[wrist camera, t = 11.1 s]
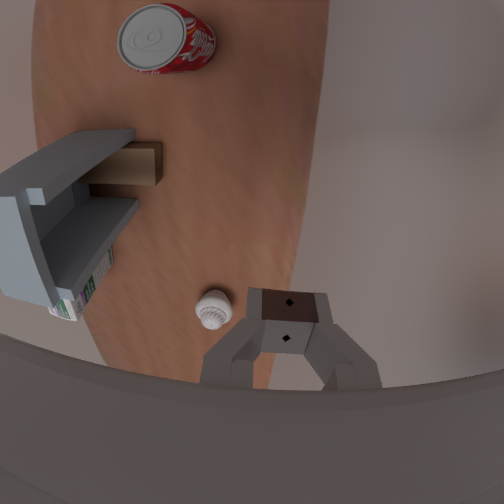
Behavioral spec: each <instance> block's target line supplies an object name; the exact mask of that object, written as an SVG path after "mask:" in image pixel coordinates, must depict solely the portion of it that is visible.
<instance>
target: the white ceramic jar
mask: <svg viewBox="0 0 504 504" xmlns="http://www.w3.org/2000/svg"><path fill="white" fill-rule="evenodd" d="M195 310H196V314H197V316H198V317H199V318H200V319H201V322H202V324H203V326H205V327H206V328H208V329H212V330H213V329H217V328H220V326H222V324H224V323H226V322H228V321H229V320H230V319H231V317H232V315H233V310H232V307H231V304H230V302H229V300H228V298H227V297H226V295H225V294H224V293H223V292H222V291H219V290H211V291H209V292H208V293H206V294H205V295H204V296H203V297H201V299H200V300H199V301H198V303H197V304H196V307H195Z"/></svg>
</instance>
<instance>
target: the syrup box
mask: <svg viewBox="0 0 504 504" xmlns="http://www.w3.org/2000/svg"><path fill="white" fill-rule="evenodd" d="M113 262H114V260H113V256H112V249H111V247H110V248H109V250H108V251H107V253H106V254H105V256H104V257H103V259H102V260H101V262H100V263H99V265H98V266H97V268H96V269H95V271H94V272H93V274H92V275H91V277H90V278H89V280H88V281H87V283H86V285H85V286H84V288H83V289H82V291H81V293H80V294H79V296H78V297H77V299H76V301H71V300H66V299H62V298H60V299H59V301H58V302H57V304H56V305H55V307H54V308H50V307H47V308H48V310H49V312H50V314H52V315H55V316H57V317H60V318H63V319H67V320H72V321H78V320H79V318H80V316H81V315H82V313H83V311H84V309H85V308H86V306H87V304H88V303H89V301H90V299H91V297H92V296H93V294H94V292H95V291H96V289H97V287H98V286H99V284H100V283H101V281H102V279H103V278H104V276H105V275H106V273H107V271H108V270H109V268H110V267H111V265H112V264H113Z"/></svg>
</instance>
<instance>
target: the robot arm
mask: <svg viewBox="0 0 504 504" xmlns="http://www.w3.org/2000/svg"><path fill="white" fill-rule="evenodd" d="M260 352H270V353H290V354H304V356H305V358H306V359H307V361H308V362H309V363H310V365H311V366H312V368H313V369H314V370H315V372H316V373H317V374H318V376H319V377H320V378H321V380H322V381H323V383H324V384H325V386H324V387H323V389H322V391H298V390H297V391H296V390H270V389H254V388H253V362H254V361H255V360H256V358H257V357H258V356H259V354H260ZM0 504H504V369H501V370H497V371H493V372H489V373H484V374H480V375H475V376H470V377H465V378H459V379H453V380H447V381H441V382H434V383H427V384H420V385H411V386H401V387H390V388H383V387H382V383H381V380H380V376H379V371H378V368H377V364H376V362H375V361H374V360H373V359H372V358H371V357H370V356H369V355H368V354H367V353H366V352H365V351H364V350H363V349H362V348H361V347H360V346H359V345H358V344H357V343H356V342H355V341H354V340H353V339H352V338H351V337H350V336H349V335H348V334H346V332H345V331H343V330H342V329H341V328H340V327H339V326H338V325H337V324H333V319H332V315H331V310H330V306H329V301H328V297H327V294H326V293H310V292H309V293H308V292H294V291H282V290H273V289H263V288H262V289H261V288H252V287H249V288H248V295H247V304H246V314H245V318H242V319H241V320H240V321H239V322H238V323H237V324H236V325H235V326H234V327H233V328H232V329H231V330H230V331H229V332H228V333H226V334H225V335H224V336H223V337H222V338H221V339H220V340H219V341H218V342H217V343H216V344H215V345H214V346H213V347H212V348H211V349H210V350H209V351H208V352H207V353H206V354H204V360H203V365H202V371H201V376H200V382H199V383H194V382H187V381H180V380H174V379H168V378H162V377H156V376H150V375H145V374H140V373H135V372H130V371H125V370H121V369H116V368H112V367H108V366H104V365H99V364H95V363H92V362H88V361H84V360H80V359H77V358H73V357H70V356H66V355H63V354H60V353H56V352H53V351H50V350H47V349H44V348H41V347H37V346H35V345H32V344H29V343H26V342H23V341H20V340H18V339H15V338H13V337H11V336H8V335H6V334H3V333H0Z"/></svg>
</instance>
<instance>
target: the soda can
mask: <svg viewBox="0 0 504 504" xmlns="http://www.w3.org/2000/svg"><path fill="white" fill-rule="evenodd" d="M117 48H118V52H119V54H120V56H121V58H122V60H123V61H124V62H125V63H126V64H127V65H129V66H130V67H132V68H133V69H134V70H136V71H138V72H141V73H144V74H150V75H157V74H170V73H183V72H191V71H195V70H197V69H200V68H201V67H203V66H204V65H206V64H207V63H208V62H209V61H210V59H211V58H212V56H213V55H214V52H215V49H216V37H215V34H214V32H213V30H212V29H211V28H210V27H209V26H208V25H207V24H206V23H204V22H203V21H201V20H200V19H198V18H197V17H196V16H194V15H192V14H191V13H189V12H188V11H186V10H185V9H183V8H181V7H179V6H177V5H174V4H169V3H159V4H153V5H148V6H145V7H142V8H140V9H138V10H136V11H135V12H133V13H132V14H131V15H130V16H129V17H128V18H127V19H126V20H125V21H124V23H123V24H122V26H121V28H120V31H119V33H118V38H117Z"/></svg>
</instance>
